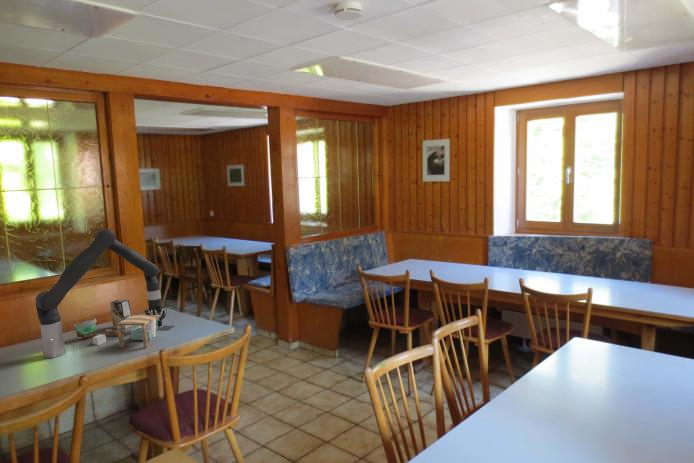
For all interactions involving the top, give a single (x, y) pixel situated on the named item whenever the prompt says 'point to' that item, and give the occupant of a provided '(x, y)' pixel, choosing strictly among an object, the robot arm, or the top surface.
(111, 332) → the walnut stick
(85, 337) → the food container
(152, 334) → the dixie cup
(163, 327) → the dark grey flat slab
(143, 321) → the light wood legged piece
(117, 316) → the coffee box
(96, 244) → the robot arm
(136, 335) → the crook
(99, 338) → the grey block
